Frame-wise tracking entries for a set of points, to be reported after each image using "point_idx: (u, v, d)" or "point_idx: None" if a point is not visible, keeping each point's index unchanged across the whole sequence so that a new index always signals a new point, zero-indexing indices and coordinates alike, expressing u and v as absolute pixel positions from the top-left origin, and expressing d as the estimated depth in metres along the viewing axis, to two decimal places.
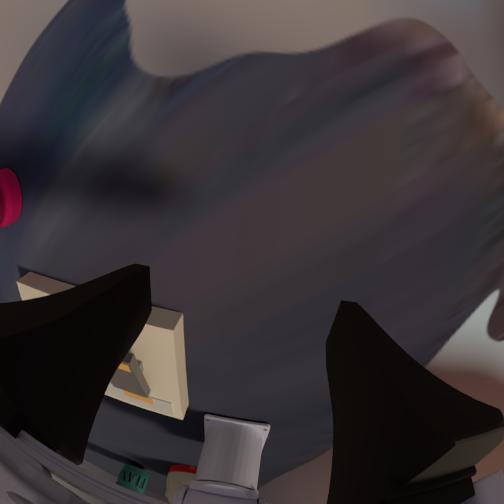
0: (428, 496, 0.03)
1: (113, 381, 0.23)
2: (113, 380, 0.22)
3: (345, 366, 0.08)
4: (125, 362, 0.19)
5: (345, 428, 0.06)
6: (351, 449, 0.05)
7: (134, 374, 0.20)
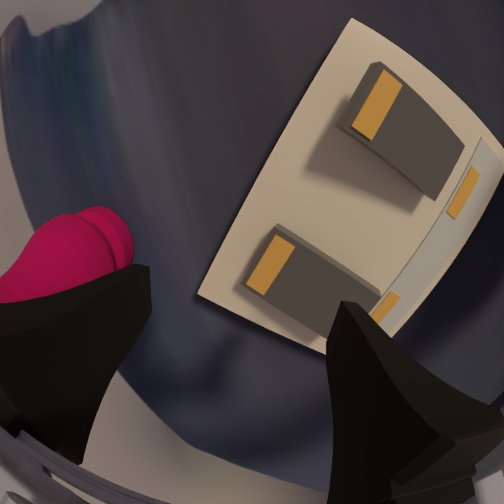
0: (428, 496, 0.03)
1: (424, 180, 0.12)
2: (421, 173, 0.12)
3: (345, 366, 0.08)
4: (378, 68, 0.09)
5: (345, 427, 0.06)
6: (351, 449, 0.05)
7: (409, 87, 0.10)
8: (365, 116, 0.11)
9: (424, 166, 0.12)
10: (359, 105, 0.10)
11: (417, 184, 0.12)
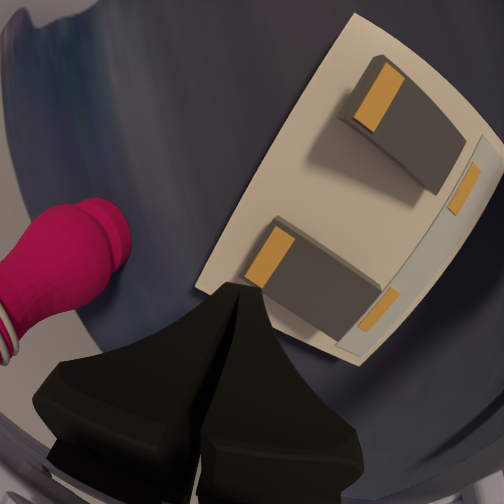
0: None
1: (426, 174, 0.12)
2: (423, 166, 0.12)
3: None
4: (380, 61, 0.09)
5: None
6: None
7: (411, 81, 0.10)
8: (367, 108, 0.10)
9: (426, 160, 0.12)
10: (361, 97, 0.10)
11: (419, 178, 0.12)
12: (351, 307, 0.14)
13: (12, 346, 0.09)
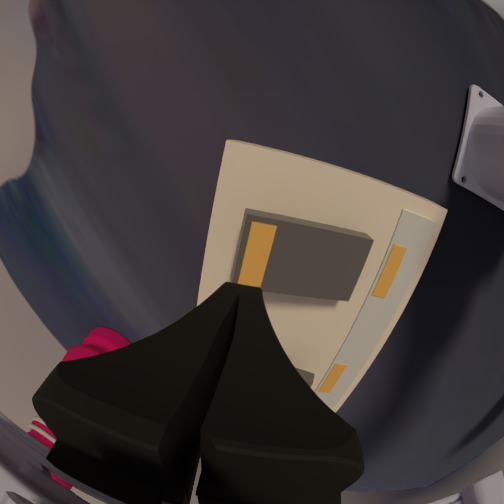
0: None
1: (329, 291, 0.15)
2: (323, 288, 0.15)
3: None
4: (247, 222, 0.13)
5: None
6: None
7: (286, 223, 0.13)
8: (248, 271, 0.14)
9: (325, 281, 0.15)
10: (239, 264, 0.14)
11: (322, 297, 0.15)
12: None
13: None
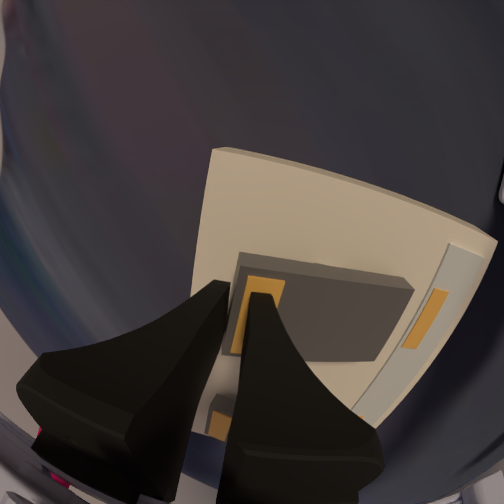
0: None
1: (352, 353, 0.11)
2: (345, 350, 0.11)
3: (243, 353, 0.08)
4: (241, 277, 0.09)
5: None
6: None
7: (299, 276, 0.09)
8: None
9: (348, 343, 0.11)
10: (231, 329, 0.10)
11: (342, 360, 0.11)
12: None
13: None
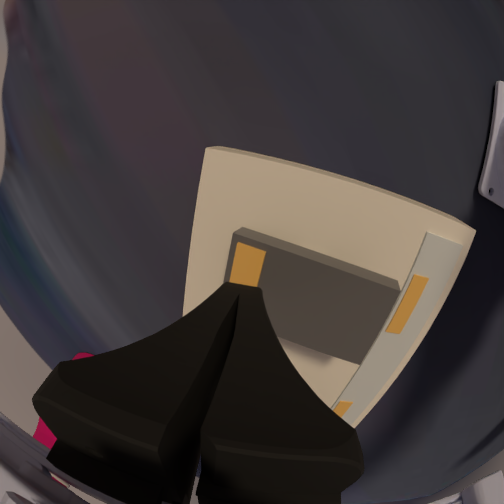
0: None
1: (333, 347, 0.11)
2: (326, 340, 0.11)
3: None
4: (233, 243, 0.11)
5: None
6: None
7: (278, 250, 0.11)
8: None
9: (329, 333, 0.11)
10: None
11: (324, 352, 0.11)
12: None
13: (64, 486, 0.11)
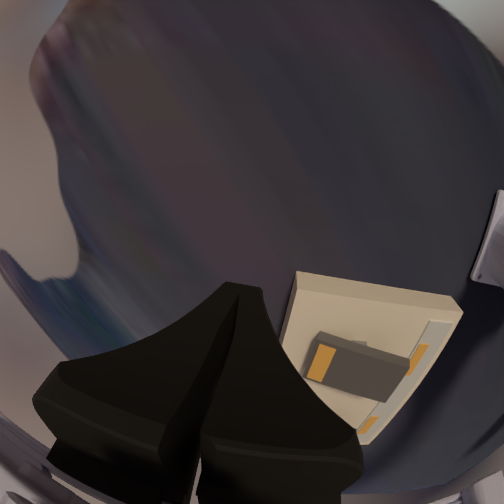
0: None
1: (370, 394, 0.17)
2: (366, 391, 0.17)
3: None
4: (316, 343, 0.18)
5: None
6: None
7: (343, 348, 0.17)
8: (314, 370, 0.18)
9: (368, 387, 0.17)
10: (309, 365, 0.19)
11: (365, 397, 0.17)
12: None
13: None
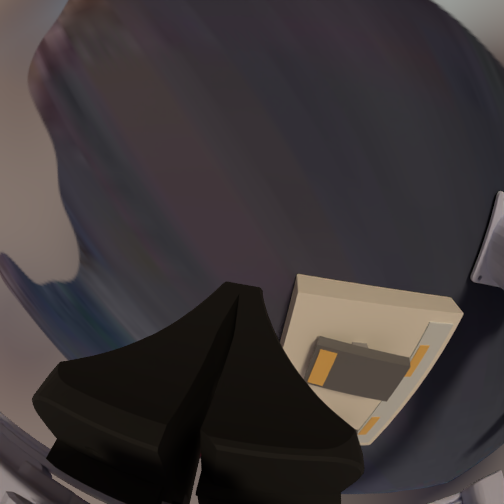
0: None
1: (372, 394, 0.17)
2: (368, 391, 0.17)
3: None
4: (317, 349, 0.17)
5: None
6: None
7: (344, 352, 0.17)
8: (315, 375, 0.18)
9: (370, 388, 0.17)
10: (309, 371, 0.18)
11: (366, 397, 0.18)
12: None
13: None
